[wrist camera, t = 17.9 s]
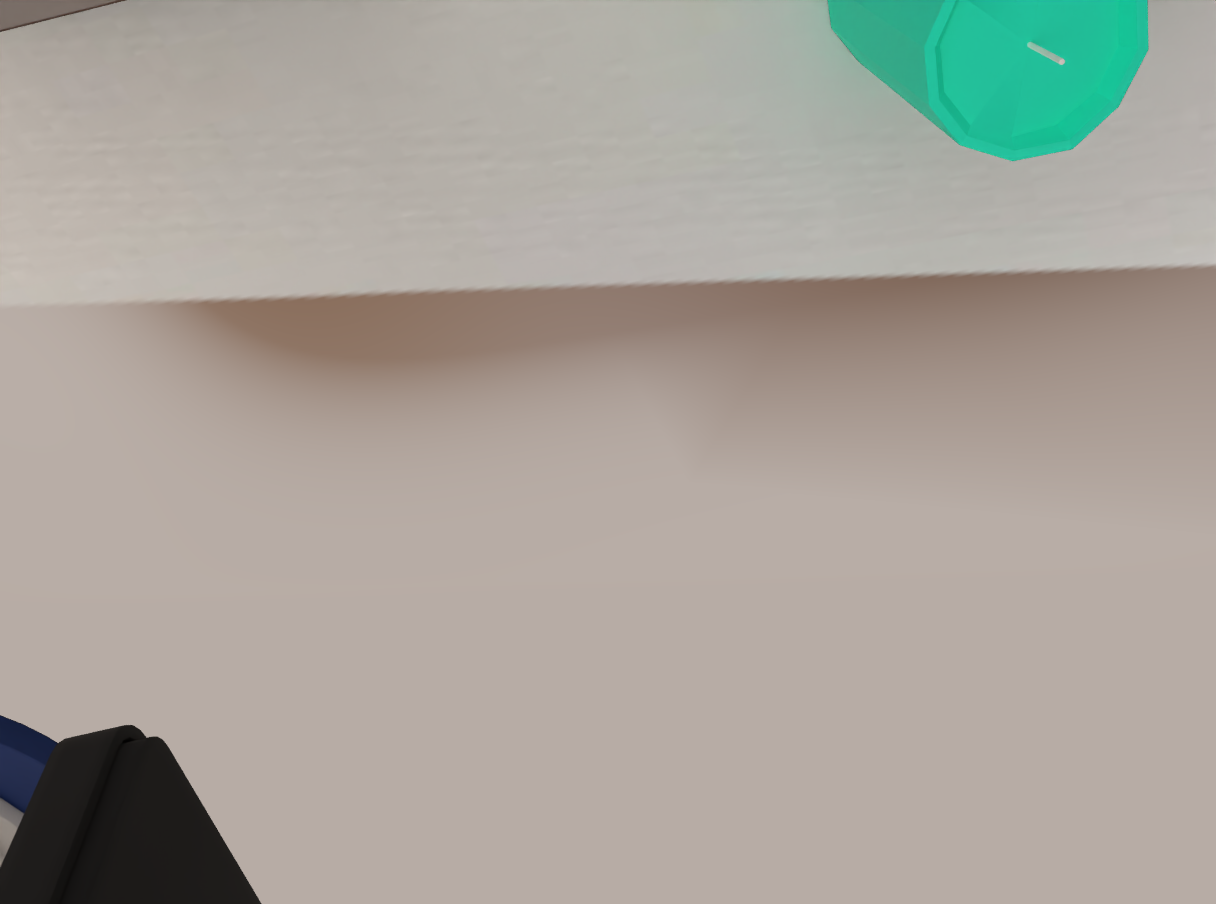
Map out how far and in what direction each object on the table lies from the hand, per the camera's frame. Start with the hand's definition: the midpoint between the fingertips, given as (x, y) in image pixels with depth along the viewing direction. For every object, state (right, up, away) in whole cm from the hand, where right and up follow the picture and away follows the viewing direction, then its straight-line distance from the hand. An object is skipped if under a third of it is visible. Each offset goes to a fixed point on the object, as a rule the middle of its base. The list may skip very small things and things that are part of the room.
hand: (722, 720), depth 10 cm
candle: (+9, +18, +29) cm, 36 cm away
